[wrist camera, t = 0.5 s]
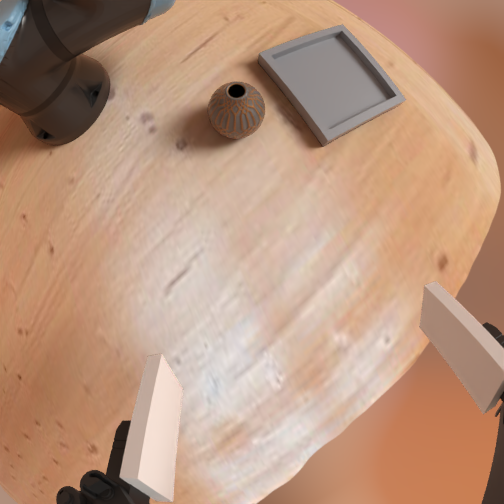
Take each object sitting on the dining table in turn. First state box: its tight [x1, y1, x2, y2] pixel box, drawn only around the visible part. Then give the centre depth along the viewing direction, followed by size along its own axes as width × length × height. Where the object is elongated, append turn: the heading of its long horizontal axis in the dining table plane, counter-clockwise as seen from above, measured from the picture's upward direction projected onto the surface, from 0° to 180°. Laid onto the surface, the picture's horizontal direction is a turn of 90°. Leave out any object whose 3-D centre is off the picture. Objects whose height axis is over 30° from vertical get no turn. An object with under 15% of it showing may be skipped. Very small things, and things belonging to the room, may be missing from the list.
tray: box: [258, 24, 406, 146], centre depth 35 cm, size 16×16×2 cm
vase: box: [208, 82, 265, 139], centre depth 32 cm, size 7×7×9 cm
